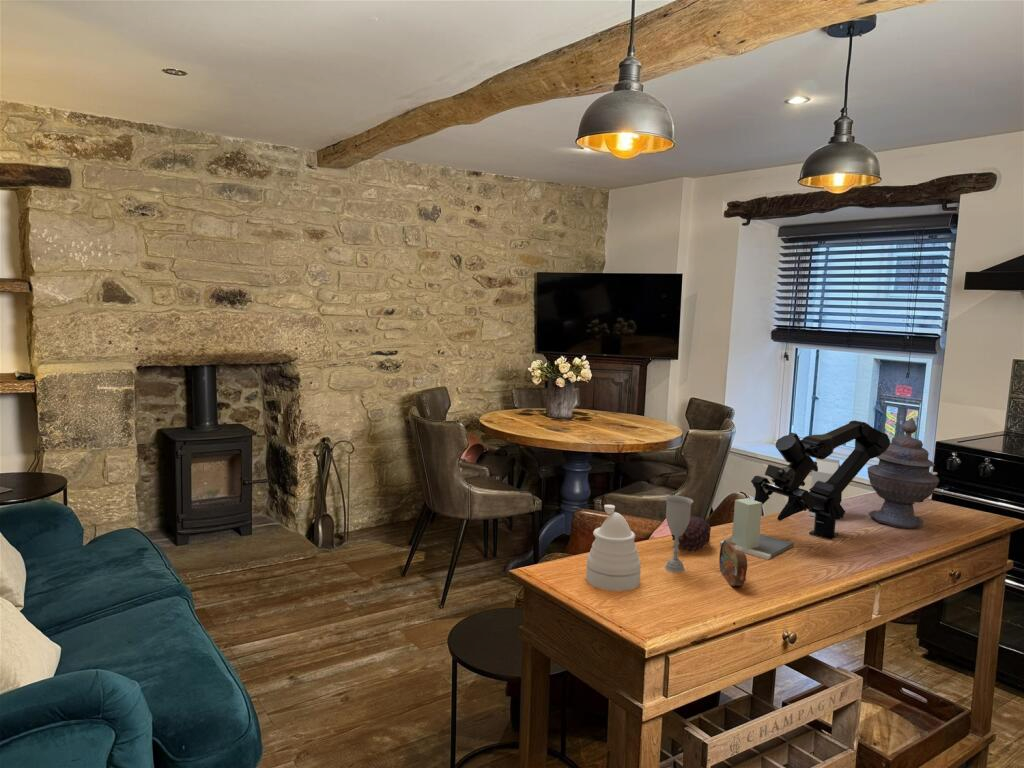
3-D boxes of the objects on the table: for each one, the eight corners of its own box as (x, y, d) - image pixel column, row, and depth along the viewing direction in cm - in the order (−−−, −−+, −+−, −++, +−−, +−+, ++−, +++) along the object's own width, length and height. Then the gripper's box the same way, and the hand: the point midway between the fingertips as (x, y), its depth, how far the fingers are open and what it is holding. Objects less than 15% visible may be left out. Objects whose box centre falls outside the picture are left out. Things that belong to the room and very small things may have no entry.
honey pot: (575, 580, 169) (578, 507, 167) (604, 566, 179) (608, 497, 177) (621, 596, 161) (625, 519, 159) (649, 580, 171) (653, 508, 169)
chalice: (655, 565, 180) (659, 496, 178) (677, 562, 183) (681, 494, 181) (672, 575, 174) (676, 504, 172) (694, 572, 176) (699, 502, 174)
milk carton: (831, 520, 224) (836, 462, 222) (808, 515, 228) (813, 458, 226) (836, 515, 230) (842, 458, 227) (814, 511, 234) (818, 454, 232)
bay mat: (746, 533, 208) (746, 530, 208) (793, 546, 199) (793, 542, 198) (719, 545, 197) (719, 542, 197) (767, 559, 187) (768, 555, 187)
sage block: (744, 541, 198) (748, 498, 197) (758, 547, 194) (762, 502, 192) (731, 543, 196) (735, 499, 194) (745, 549, 191) (748, 504, 190)
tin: (717, 567, 180) (719, 535, 180) (729, 568, 180) (732, 536, 179) (733, 591, 166) (736, 557, 165) (747, 592, 165) (750, 557, 164)
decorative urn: (844, 512, 230) (864, 409, 225) (889, 512, 237) (909, 412, 233) (897, 535, 212) (920, 423, 207) (943, 534, 219) (966, 425, 214)
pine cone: (685, 535, 205) (706, 509, 202) (708, 560, 199) (731, 534, 196) (653, 531, 192) (675, 504, 189) (677, 558, 186) (700, 531, 183)
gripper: (757, 448, 206) (727, 488, 202) (811, 462, 189) (778, 506, 185) (775, 472, 210) (745, 512, 206) (828, 487, 194) (797, 531, 190)
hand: (765, 514), depth 197 cm, fingers open, 9 cm apart
